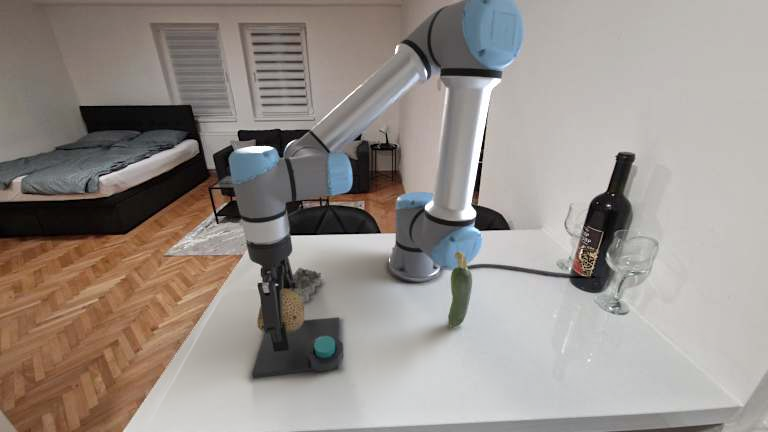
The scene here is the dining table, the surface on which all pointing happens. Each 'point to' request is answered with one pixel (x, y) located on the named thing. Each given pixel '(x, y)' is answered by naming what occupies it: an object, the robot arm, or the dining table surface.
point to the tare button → (324, 347)
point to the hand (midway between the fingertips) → (286, 330)
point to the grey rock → (305, 282)
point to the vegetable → (460, 291)
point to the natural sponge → (288, 311)
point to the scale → (299, 351)
